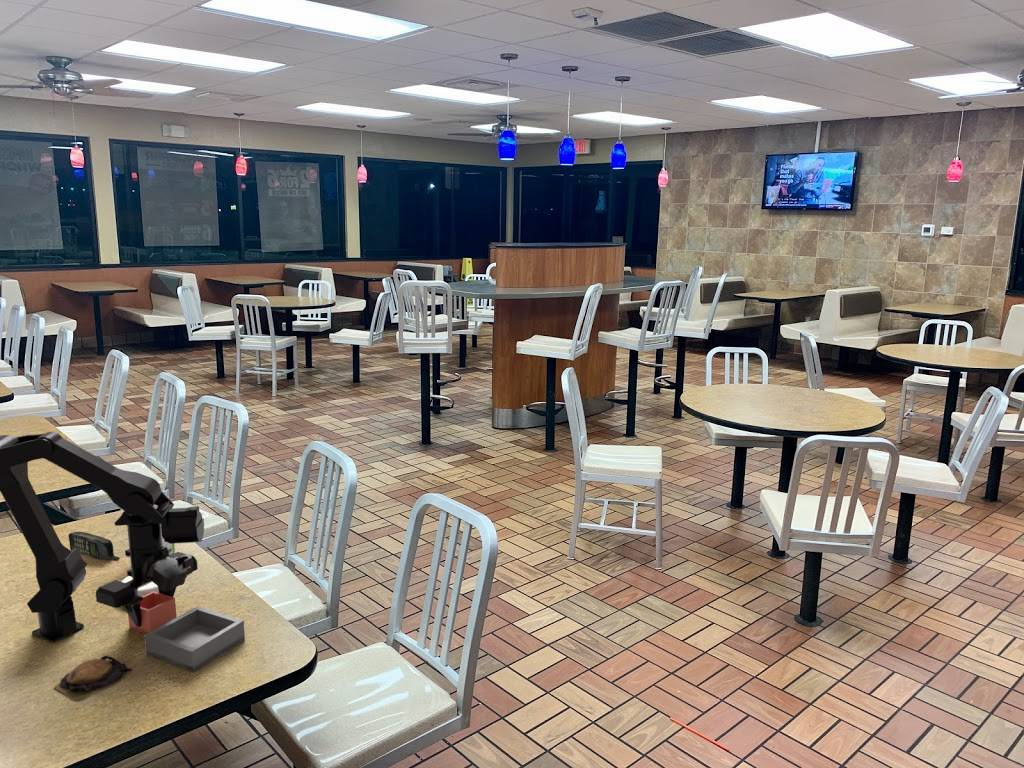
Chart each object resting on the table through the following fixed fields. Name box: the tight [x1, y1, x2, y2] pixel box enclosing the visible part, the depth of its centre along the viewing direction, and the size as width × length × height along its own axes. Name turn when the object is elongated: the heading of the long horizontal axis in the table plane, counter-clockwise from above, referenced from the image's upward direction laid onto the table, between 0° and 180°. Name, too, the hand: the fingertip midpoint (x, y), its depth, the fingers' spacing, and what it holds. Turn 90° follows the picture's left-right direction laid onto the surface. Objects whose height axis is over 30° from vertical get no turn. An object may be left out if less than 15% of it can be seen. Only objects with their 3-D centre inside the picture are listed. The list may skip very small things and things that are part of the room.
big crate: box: [144, 606, 246, 673], centre depth 142 cm, size 12×12×4 cm
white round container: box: [120, 575, 159, 597], centre depth 162 cm, size 10×10×4 cm
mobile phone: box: [68, 531, 120, 561], centre depth 181 cm, size 5×3×15 cm
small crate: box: [127, 591, 178, 635], centre depth 150 cm, size 6×6×5 cm
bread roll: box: [53, 655, 133, 702], centre depth 132 cm, size 11×8×4 cm
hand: (152, 618), depth 150 cm, fingers closed on small crate, 6 cm apart
